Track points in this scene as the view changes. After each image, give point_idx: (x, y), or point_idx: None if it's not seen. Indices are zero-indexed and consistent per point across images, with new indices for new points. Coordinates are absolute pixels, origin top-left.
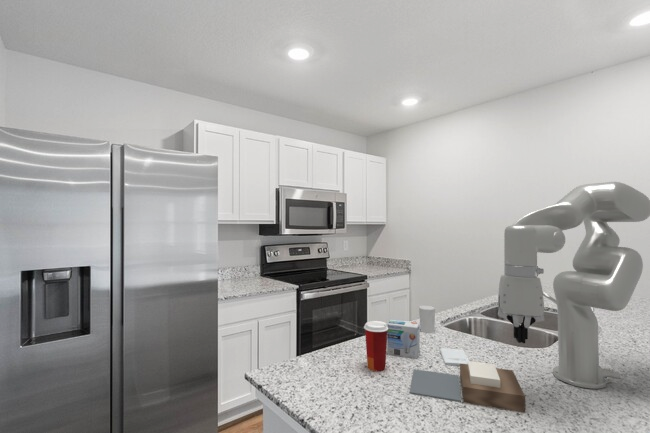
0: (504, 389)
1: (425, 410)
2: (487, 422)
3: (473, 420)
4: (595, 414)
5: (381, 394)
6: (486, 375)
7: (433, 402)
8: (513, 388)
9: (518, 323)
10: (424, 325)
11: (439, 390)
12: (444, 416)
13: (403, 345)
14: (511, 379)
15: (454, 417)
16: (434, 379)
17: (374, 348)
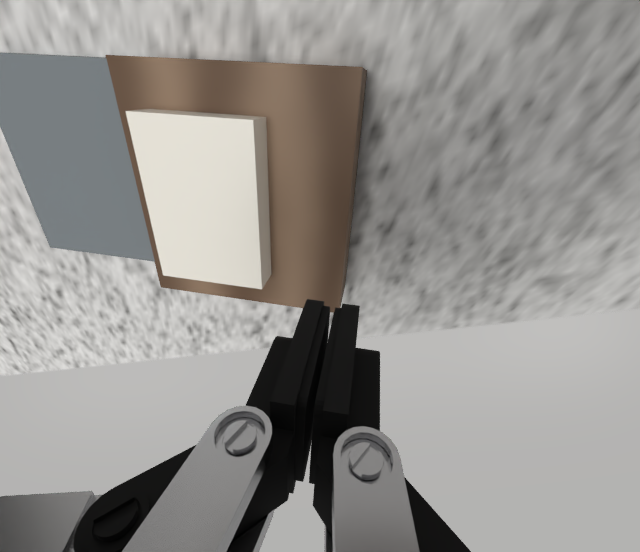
0: (283, 282)
1: (117, 311)
2: (245, 335)
3: (216, 332)
4: (577, 257)
5: (3, 262)
6: (215, 260)
7: (121, 276)
8: (315, 270)
9: (261, 533)
10: None
11: (114, 218)
12: (158, 326)
13: None
14: (326, 194)
15: (178, 327)
16: (74, 138)
17: None
